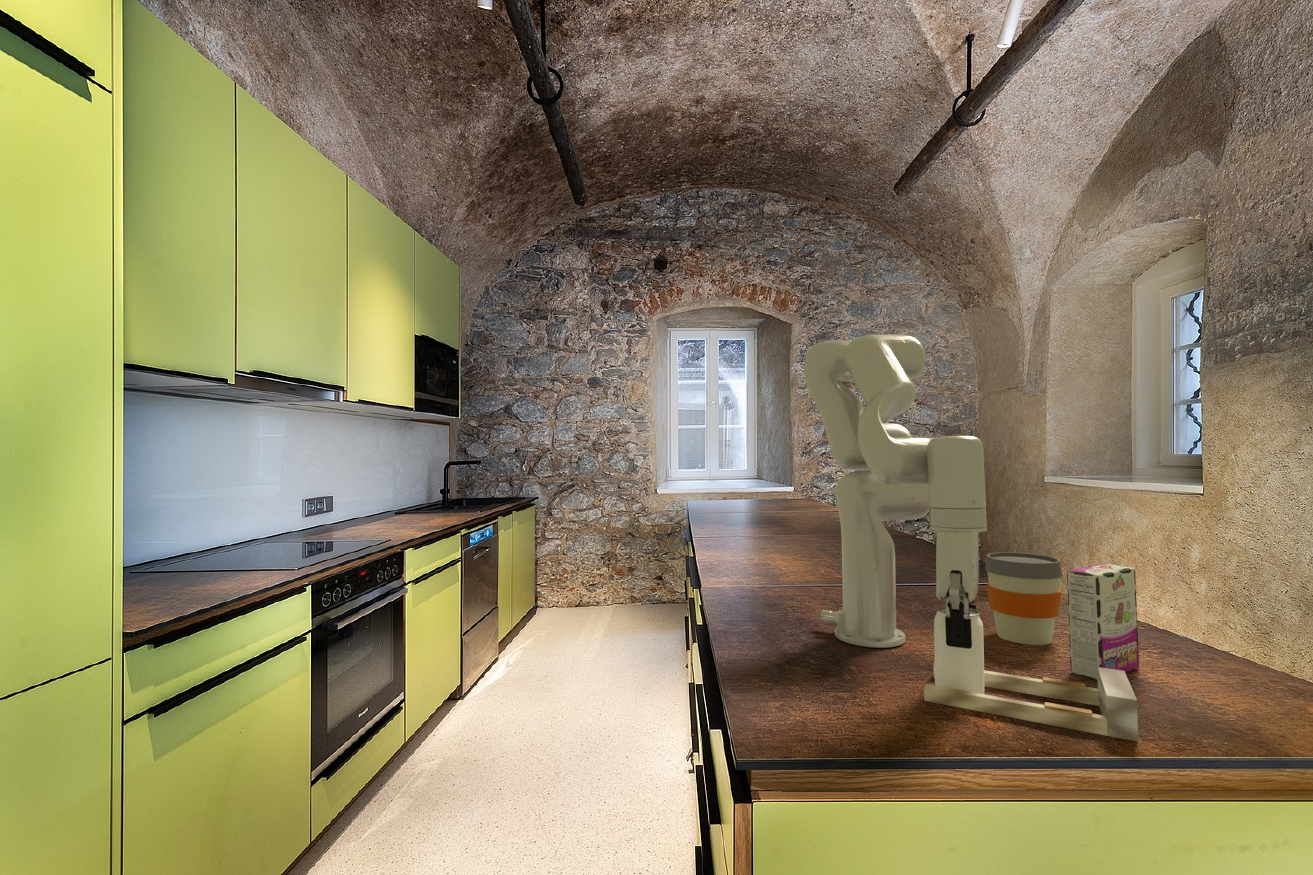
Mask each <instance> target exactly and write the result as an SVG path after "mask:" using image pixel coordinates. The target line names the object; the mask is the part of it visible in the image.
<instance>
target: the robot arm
mask: <svg viewBox="0 0 1313 875" xmlns="http://www.w3.org/2000/svg"><path fill="white" fill-rule="evenodd" d="M926 357H927V356H926V351H925V349H924V347H923V344H922V343H921V342H920V341H919V340H918V339H917V338H915V337H913V336H911V335H902V334H898V335H897V334H866V335H861V336H858V337H856V338H853V339H851V340H845V339H844V340H843V339H837V340H836V339H833V340H825V341H821V342H818V343H816V344H814V345H812V346H811V347H810V348H809V349H808V350H807V352H806V354H805V358H804V365H803V366H804V368H803V369H804V378H805V383H806V387H807V390H808V392H809V394H810V397H811V398H812V401H813V402H814V403H815V406H816V408H817V409H818V412H819V413H820V416H821V419H822V423H823V427H824V431H825V435H826V437H827V441H828V445H829V448H830V451H831V454H832V458H833V460H834V462H835V464H836V465H837V467H839V468H840V469H843V470H846V471H851V472H848V473H845V474H844V475H843V476H841V477H840V478H839V480H838V481H837V484H836V488H835V500H836V505H837V511H838V516H839V524H840V534H841V570H842V571H841V576H842V581H841V582H842V586H841V587H842V610H841V609H840V610H838V611H832V610H830V609H829V610H828V609H827V610H826V609H822V610H821V613H820V617H821V620H823V622H824V623H832V624H835V625H836V627H835V628H834V636H835V638H836V639H837V640H840V641H842V642H844V643H846V644H850V645H854V646H858V647H865V648H875V649H876V648H877V649H879V648H881V649H883V648H884V649H885V648H895V647H898V646H901V645H903V644H904V643H905V642H906V634H905V633H904V632H903V631H902V630H900V629H898V628H897V604H896V602H897V601H896V600H897V598H896V597H897V596H896V588H897V587H896V550H895V549H896V548H895V544H894V540H893V538H892V536H891V534H890V533H889V532H888V530H887V529H886V528H885V526H884V524H883V522H885V521H886V522H887V521H903V520H904V521H905V520H908V521H909V520H917V519H921V518H923V517H925V516H926V515H927V514H929V530H931V531H936V542H935V544H936V547H935V549H936V552H935V556H936V557H935V559H936V560H935V566H936V568H935V569H936V570H935V571H936V573H935V576H936V577H935V579H936V582H935V583H936V584H935V585H936V587H935V590H936V591H935V592H936V593H935V595H936V596H935V597H936V598H937V599H938V600H939V601H942V600H943V599H944V598H946V605H945V606H946V616H945V629H946V644H947V646H951V647H959V648H967V649H970V648H971V647H972V632H971V619H969V608H972V609H975V610H977V605H976V604H975V601H976V598H977V595H978V591H979V578H980V577H979V576H980V575H979V574H980V573H979V572H980V568H979V567H980V564H979V563H980V558H979V533H982V532H987V531H988V528H987V527H988V524H987V508H986V507H987V504H986V502H987V501H986V500H987V499H986V476H985V473H986V472H985V455H984V454H985V453H984V452H985V451H984V444H983V442H982V440H981V439H980V438H978V437H977V436H973V435H947V436H937V437H917V436H916V437H913V435H912V434H911V433H910V431H909V430H908V429H907V428H906V427H904V426H903V425H901V424H898V423H893V422H887V421H889V420H892V419H893V418H896V417H898V416H900V415H901V414H903V413H905V412H906V411H908V409H909V408H910V407H911V406H912V405H913V403H914V402H915V399H916V397H917V394H916V387H915V385H914V384H913V382H912V380H914V379H916V378H918V377H919V376H920V375H921V374H922V373H923V371H924V369H925V367H926V360H927V358H926ZM843 382H853V383H854V384H855V385H856V387H857V390H858V392H859V394H860V395H861V397H862V400H863V402H864V403H865V405H866V406H865V407H864V405H863V403H862V401H861V400H860V398H859V397H858V396H857V395H856V393H854V392H853V391H852V390H851V389H850V388H849V387H847V386H846V385H844V384H843ZM963 608H964V609H963Z"/></svg>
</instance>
